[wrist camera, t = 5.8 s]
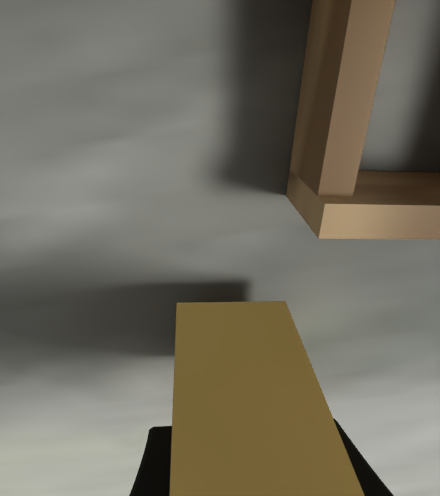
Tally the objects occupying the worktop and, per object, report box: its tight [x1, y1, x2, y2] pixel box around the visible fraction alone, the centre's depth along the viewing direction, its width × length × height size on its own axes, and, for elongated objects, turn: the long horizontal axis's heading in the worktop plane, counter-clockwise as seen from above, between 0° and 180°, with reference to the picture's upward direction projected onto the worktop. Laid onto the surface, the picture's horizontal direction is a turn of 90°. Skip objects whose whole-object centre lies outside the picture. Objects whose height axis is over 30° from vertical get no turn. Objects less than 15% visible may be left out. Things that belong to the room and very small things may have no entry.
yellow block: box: [170, 301, 364, 496], centre depth 11 cm, size 4×4×7 cm
